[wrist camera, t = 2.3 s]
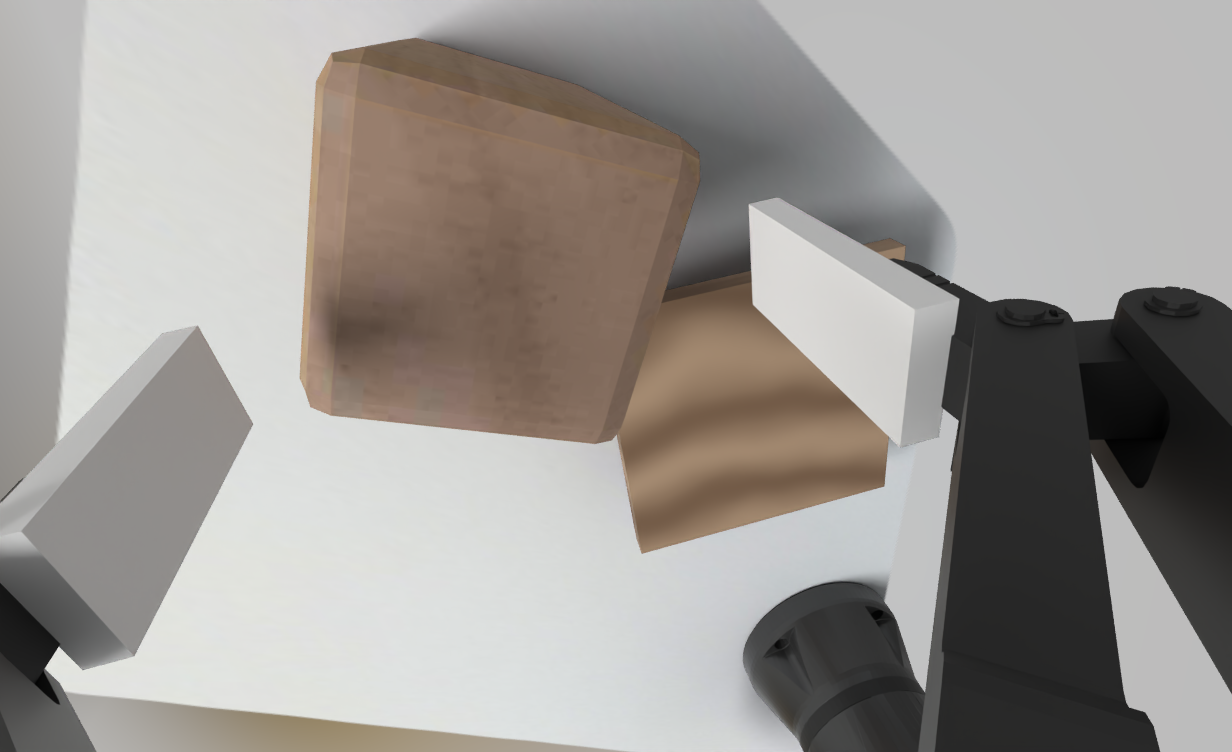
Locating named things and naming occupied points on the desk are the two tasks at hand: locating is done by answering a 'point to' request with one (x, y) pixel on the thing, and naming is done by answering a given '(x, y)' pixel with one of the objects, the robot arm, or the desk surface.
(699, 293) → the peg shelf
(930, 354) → the robot arm
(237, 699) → the desk surface
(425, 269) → the wooden block
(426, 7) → the desk surface
